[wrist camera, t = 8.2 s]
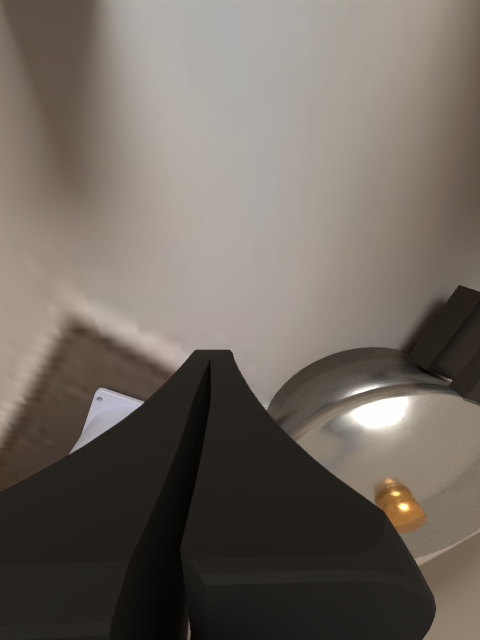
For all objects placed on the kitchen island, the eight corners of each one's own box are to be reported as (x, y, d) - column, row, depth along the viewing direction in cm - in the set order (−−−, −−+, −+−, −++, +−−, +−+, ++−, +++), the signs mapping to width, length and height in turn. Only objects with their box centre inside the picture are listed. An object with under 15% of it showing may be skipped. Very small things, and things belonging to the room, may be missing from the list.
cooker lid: (410, 563, 25) (431, 604, 22) (230, 527, 22) (230, 570, 19) (648, 354, 16) (728, 382, 13) (402, 243, 13) (444, 252, 10)
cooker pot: (380, 501, 29) (407, 556, 25) (235, 467, 26) (236, 521, 22) (543, 322, 21) (631, 354, 16) (356, 242, 18) (399, 253, 13)
